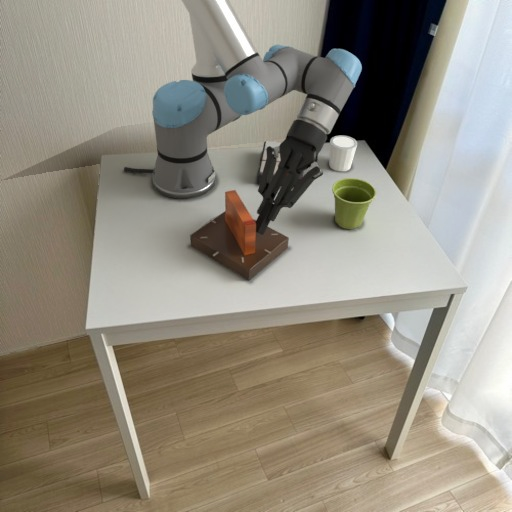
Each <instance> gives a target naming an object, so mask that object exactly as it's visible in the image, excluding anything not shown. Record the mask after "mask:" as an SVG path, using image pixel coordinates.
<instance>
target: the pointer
mask: <svg viewBox="0 0 512 512" xmlns="http://www.w3.org/2000/svg"><path fill="white" fill-rule="evenodd" d="M224 199H225V200H224V207H225V208H224V212H225V221H226V222H227V224H228V226H229V228H230V230H231V231H232V233H233V235H234V237H235V239H236V241H237V242H238V244H239V246H240V248H241V250H242V251H243V253H244V255H249V254H253V253H255V236H256V223H255V222H254V220H255V219H254V218H253V217H252V215H251V213H250V212H249V210H248V209H247V207H246V205H245V204H244V202H243V201H242V199H241V197H240V196H239V194H238V192H237V190H236V189H233V190H232V189H231V190H228V191H225V192H224ZM253 219H254V220H253Z"/></svg>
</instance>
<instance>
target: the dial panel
mask: <svg viewBox="0 0 512 512" xmlns="http://www.w3.org/2000/svg"><path fill="white" fill-rule="evenodd" d="M253 220H254V222H256V220H257V219H254V218H253ZM189 239H190V240H189V241H190V247H192V248H193V249H195V250H197V251H198V252H199V253H202V254H204V255H205V256H207V257H208V258H210V259H212V260H213V261H215V262H217V263H219V264H220V265H222V266H223V267H225V268H227V269H229V270H230V271H232V272H233V273H235V274H237V275H239V276H240V277H241V278H244V279H245V280H247V281H251V280H252V279H253V278H255V276H256V275H258V274H259V273H260V272H261V271H263V270H264V269H265V268H267V266H269V265H270V264H271V263H272V262H273V261H275V260H276V259H277V258H278V257H280V255H282V254H283V253H284V252H285V251H286V250H287V249H288V247H289V239H290V237H289V236H287V235H285V234H283V233H281V232H279V231H277V230H276V229H273V228H271V227H269V225H268V226H267V228H266V230H265V232H264V234H263V235H261V234H259V233H257V232H256V236H255V253H253V254H249V255H244V253H243V251H242V250H241V248H240V246H239V244H238V242H237V241H236V239H235V237H234V235H233V233H232V231H231V230H230V228H229V226H228V224H227V222H226V221H225V211H223V212H222V213H220V214H219V215H217V216H216V217H214V218H213V219H210V220H209V222H206V224H204V225H202V226H201V227H200V228H199V229H197V230H196V231H193V233H191V234H190V235H189Z"/></svg>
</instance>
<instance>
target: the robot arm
mask: <svg viewBox="0 0 512 512" xmlns="http://www.w3.org/2000/svg"><path fill="white" fill-rule="evenodd" d="M181 2H182V3H183V5H184V7H185V9H186V10H187V12H188V14H189V21H190V27H191V34H192V40H193V48H194V53H195V60H196V62H195V63H194V65H193V66H192V67H191V69H190V72H191V78H192V80H190V79H180V80H179V81H177V80H174V81H170V82H168V83H165V84H164V85H162V86H160V87H159V88H158V89H157V90H156V91H155V93H154V95H153V96H152V118H153V124H154V125H153V126H154V132H155V141H156V152H157V156H156V159H155V164H154V168H135V167H134V168H133V167H128V166H124V167H123V170H124V172H128V173H137V174H138V173H139V174H151V177H152V185H153V187H154V189H155V190H156V191H157V192H158V193H159V194H161V195H163V196H165V197H168V198H172V199H179V200H187V199H194V198H198V197H201V196H204V195H205V194H207V193H209V192H210V191H212V189H214V187H215V185H216V170H215V169H214V166H213V163H212V160H211V157H210V156H209V153H208V136H209V135H211V134H213V133H215V132H216V131H218V130H220V129H221V128H223V127H225V126H227V125H228V124H230V123H233V122H235V121H237V120H239V119H240V118H241V117H242V116H248V115H251V114H253V113H254V112H258V111H261V110H263V109H265V108H266V107H267V106H269V105H270V104H271V103H274V102H275V101H276V100H278V99H280V98H283V97H284V96H286V95H288V94H290V93H291V92H293V91H296V92H299V93H302V94H304V95H306V97H305V99H304V100H303V102H302V104H301V106H300V108H299V110H298V112H297V114H296V118H297V119H294V120H293V121H292V124H291V125H290V128H289V129H288V131H287V133H286V136H285V139H284V140H283V141H282V142H281V144H280V146H278V147H274V148H272V147H271V146H268V147H267V149H266V151H267V159H266V162H265V166H264V170H263V173H262V177H261V181H260V184H258V188H257V192H258V194H260V196H262V200H261V202H260V204H259V207H257V208H258V209H257V211H256V214H257V215H258V216H257V218H256V219H255V220H256V222H255V223H256V232H257V233H259V234H261V235H263V234H264V232H265V230H266V228H267V226H268V227H269V225H270V222H274V221H276V219H277V218H278V215H279V214H280V212H281V209H283V208H287V209H292V208H293V206H295V204H296V203H297V201H299V199H300V198H301V197H302V196H303V194H304V193H305V192H306V191H307V190H308V189H309V187H310V186H311V185H312V184H313V182H314V181H316V180H317V179H319V178H320V177H322V176H323V174H324V171H323V170H322V169H321V168H320V167H319V166H320V165H318V160H319V157H318V156H319V154H320V153H321V151H322V149H323V147H324V145H325V143H326V142H327V140H328V135H330V134H331V132H332V130H333V128H334V126H335V124H336V122H337V120H338V118H339V116H340V114H341V112H342V110H343V108H344V106H345V104H346V103H347V101H348V99H349V97H350V95H351V94H352V92H353V90H354V89H355V87H356V83H357V81H358V80H359V77H360V75H361V72H362V70H363V66H362V63H361V61H360V59H359V58H358V57H357V56H356V55H354V54H353V53H351V52H349V51H348V50H346V49H343V48H332V49H331V50H329V51H328V53H327V54H326V56H325V57H322V56H317V55H315V54H311V53H308V52H305V51H303V50H299V49H297V48H294V47H293V46H289V45H283V44H273V45H272V46H271V47H269V49H268V51H266V52H265V54H264V56H263V58H262V57H261V55H260V54H259V52H258V50H257V49H256V46H255V45H254V42H253V41H252V39H251V38H250V36H249V34H248V32H247V30H246V28H245V26H244V25H243V23H242V21H241V20H240V18H239V16H238V14H237V13H236V11H235V9H234V7H233V4H232V3H231V2H230V0H181ZM279 154H280V159H281V161H280V163H279V165H278V169H277V171H276V173H275V175H274V177H273V173H274V170H275V166H276V162H277V158H278V157H279ZM307 169H308V171H307ZM304 171H306V173H304ZM302 172H303V173H304V174H303V177H302V179H301V180H300V181H299V182H298V183H297V185H296V186H295V187H294V185H295V183H296V181H297V179H298V178H299V177H300V175H301V173H302ZM287 174H288V175H287ZM286 175H287V177H286ZM272 177H273V179H272ZM285 177H286V179H285ZM284 179H285V180H284ZM283 181H284V182H283ZM282 183H283V184H282ZM281 185H282V186H281ZM293 187H294V188H293Z"/></svg>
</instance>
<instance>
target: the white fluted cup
mask: <svg viewBox="0 0 512 512" xmlns="http://www.w3.org/2000/svg"><path fill="white" fill-rule="evenodd" d="M357 146H358V141H357V140H356V139H355V138H353V137H351V136H349V135H335V136H332V137H331V138H330V139H329V158H328V159H329V160H328V165H329V168H330V169H332V170H333V171H336V172H347V171H349V170H351V167H352V165H353V164H352V163H353V160H354V157H355V153H356V150H357Z"/></svg>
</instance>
